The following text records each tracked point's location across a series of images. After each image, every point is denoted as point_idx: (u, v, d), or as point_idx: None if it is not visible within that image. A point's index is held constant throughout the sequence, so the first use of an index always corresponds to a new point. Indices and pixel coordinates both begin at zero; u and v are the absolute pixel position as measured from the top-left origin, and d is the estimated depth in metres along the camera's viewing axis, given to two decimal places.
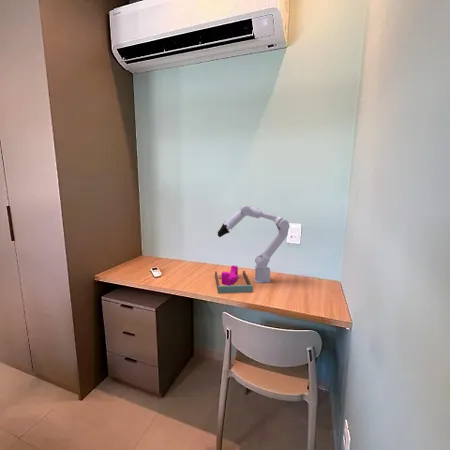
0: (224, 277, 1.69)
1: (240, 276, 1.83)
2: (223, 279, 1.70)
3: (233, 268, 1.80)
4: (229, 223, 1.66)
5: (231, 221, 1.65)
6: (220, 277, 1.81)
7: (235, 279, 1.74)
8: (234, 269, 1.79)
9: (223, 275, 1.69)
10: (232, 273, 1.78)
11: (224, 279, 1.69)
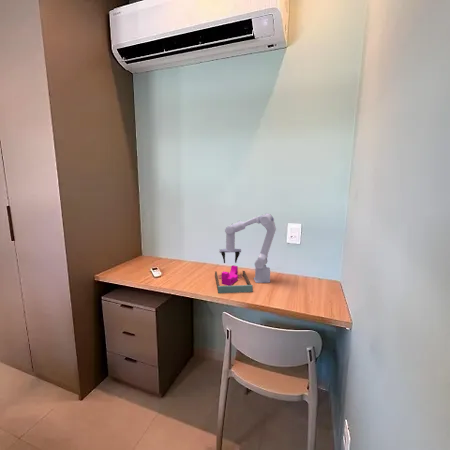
0: (224, 277, 1.69)
1: (240, 276, 1.83)
2: (223, 279, 1.70)
3: (233, 268, 1.80)
4: None
5: None
6: (220, 277, 1.81)
7: (235, 279, 1.74)
8: (234, 269, 1.79)
9: (223, 275, 1.69)
10: (232, 273, 1.78)
11: (224, 279, 1.69)
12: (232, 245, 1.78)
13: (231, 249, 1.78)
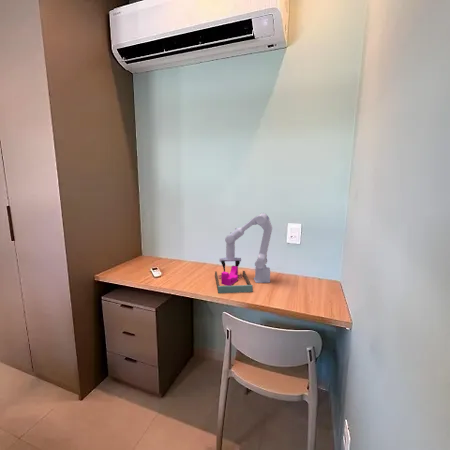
0: (223, 277, 1.69)
1: (240, 276, 1.83)
2: (223, 279, 1.69)
3: (233, 268, 1.79)
4: None
5: None
6: (220, 277, 1.81)
7: (235, 279, 1.73)
8: (234, 269, 1.79)
9: (223, 275, 1.69)
10: (232, 273, 1.78)
11: (224, 279, 1.69)
12: (232, 254, 1.78)
13: (231, 258, 1.79)
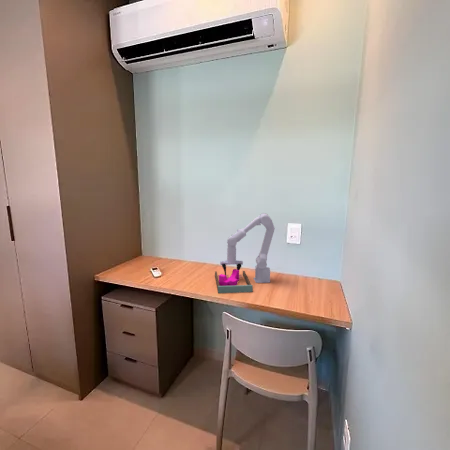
0: (221, 280, 1.65)
1: (240, 276, 1.83)
2: (220, 282, 1.65)
3: (234, 272, 1.74)
4: None
5: None
6: None
7: (233, 283, 1.67)
8: (235, 273, 1.73)
9: (220, 278, 1.65)
10: (232, 277, 1.72)
11: (221, 282, 1.65)
12: (233, 257, 1.72)
13: (232, 261, 1.73)
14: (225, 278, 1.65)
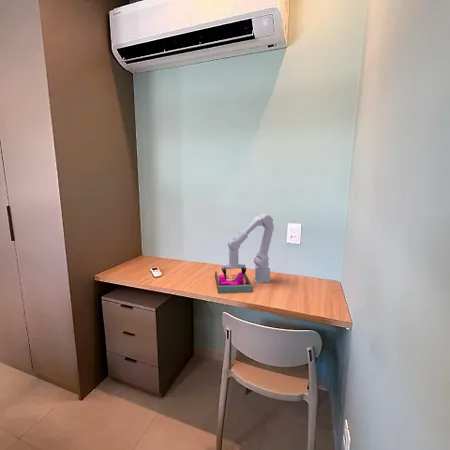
0: (219, 280, 1.64)
1: None
2: (219, 282, 1.65)
3: (239, 275, 1.68)
4: None
5: None
6: None
7: None
8: (239, 276, 1.67)
9: (219, 278, 1.64)
10: (236, 280, 1.67)
11: (219, 282, 1.64)
12: (236, 261, 1.65)
13: (235, 265, 1.66)
14: (223, 279, 1.63)
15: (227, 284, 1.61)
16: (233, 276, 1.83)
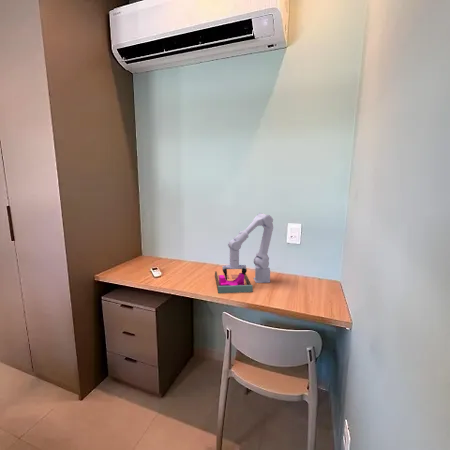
0: (219, 281, 1.63)
1: None
2: (219, 282, 1.64)
3: (239, 276, 1.66)
4: None
5: None
6: None
7: None
8: (239, 277, 1.65)
9: (219, 278, 1.63)
10: (236, 280, 1.66)
11: (219, 283, 1.63)
12: (236, 261, 1.63)
13: (235, 266, 1.64)
14: (223, 280, 1.62)
15: (226, 285, 1.60)
16: (233, 276, 1.83)
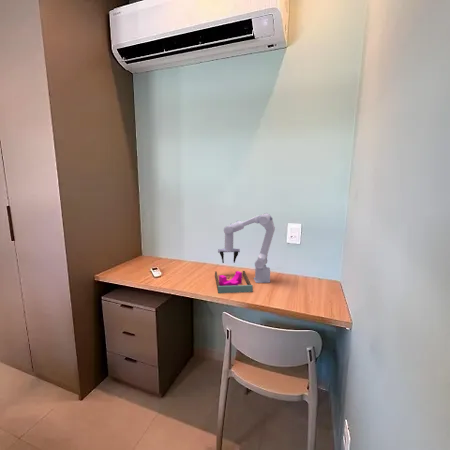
0: (220, 281, 1.64)
1: None
2: (220, 283, 1.65)
3: (237, 274, 1.71)
4: None
5: None
6: None
7: None
8: (237, 275, 1.70)
9: (220, 278, 1.64)
10: (234, 279, 1.70)
11: (220, 283, 1.64)
12: (231, 245, 1.78)
13: (230, 249, 1.78)
14: (225, 279, 1.63)
15: (229, 284, 1.63)
16: (233, 276, 1.83)
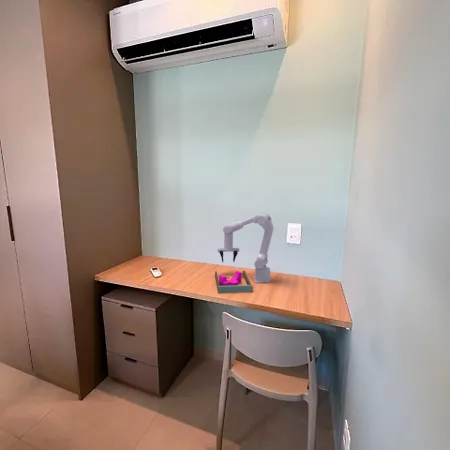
0: (220, 281, 1.64)
1: None
2: (220, 282, 1.65)
3: (236, 273, 1.72)
4: None
5: None
6: None
7: None
8: (237, 275, 1.71)
9: (220, 278, 1.65)
10: (234, 278, 1.71)
11: (220, 283, 1.64)
12: (230, 244, 1.80)
13: (229, 248, 1.80)
14: (225, 279, 1.64)
15: (229, 283, 1.63)
16: None
